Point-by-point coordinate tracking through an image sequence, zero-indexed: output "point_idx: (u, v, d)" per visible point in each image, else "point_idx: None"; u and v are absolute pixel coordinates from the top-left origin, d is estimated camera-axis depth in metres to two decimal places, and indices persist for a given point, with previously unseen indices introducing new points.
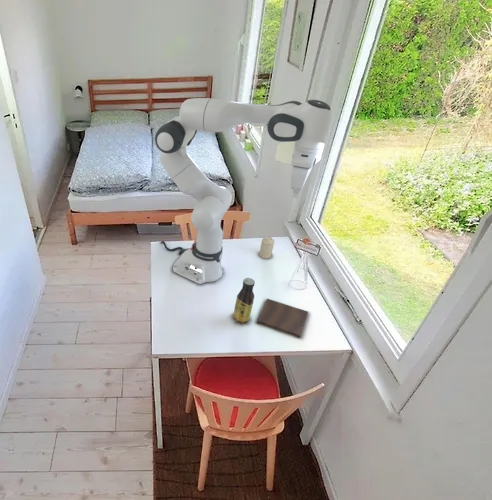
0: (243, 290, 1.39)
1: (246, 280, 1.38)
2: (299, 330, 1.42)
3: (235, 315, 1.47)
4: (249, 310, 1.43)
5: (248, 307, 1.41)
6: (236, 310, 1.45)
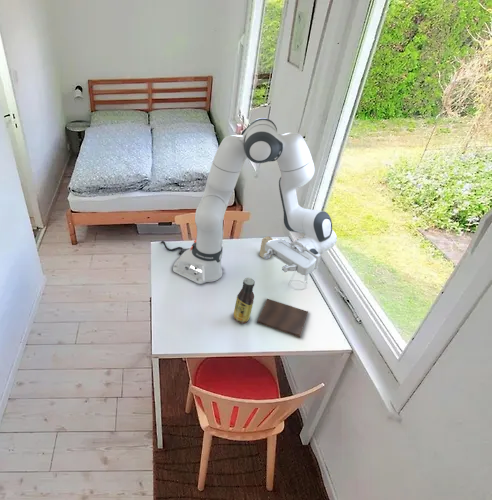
0: (243, 290, 1.39)
1: (246, 280, 1.38)
2: (299, 330, 1.42)
3: (235, 315, 1.47)
4: (249, 310, 1.43)
5: (248, 307, 1.41)
6: (236, 310, 1.45)
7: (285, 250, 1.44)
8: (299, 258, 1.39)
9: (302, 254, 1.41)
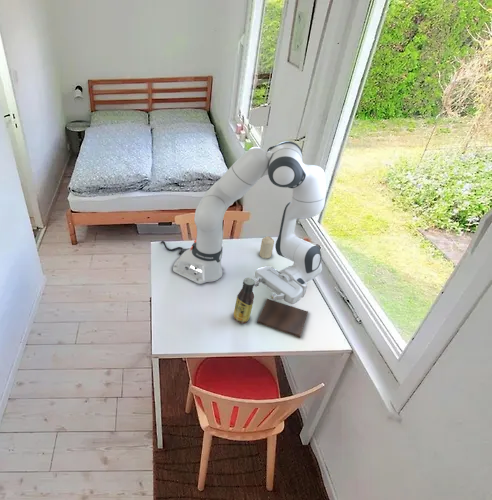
0: (243, 290, 1.39)
1: (246, 280, 1.38)
2: (299, 330, 1.42)
3: (235, 315, 1.47)
4: (249, 310, 1.43)
5: (248, 307, 1.41)
6: (236, 310, 1.45)
7: (273, 278, 1.50)
8: (287, 287, 1.46)
9: (290, 283, 1.48)
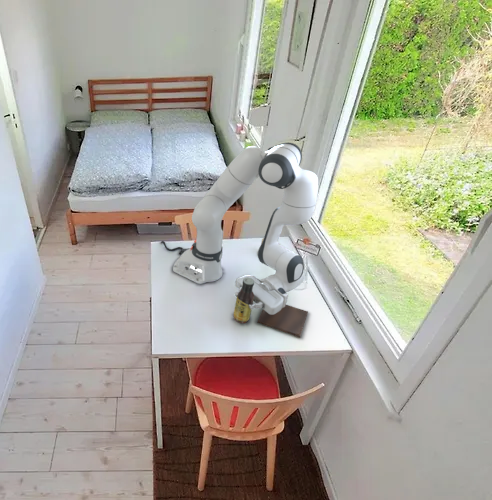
0: (243, 290, 1.39)
1: (246, 279, 1.38)
2: (299, 330, 1.42)
3: (235, 315, 1.47)
4: (249, 310, 1.43)
5: (248, 307, 1.42)
6: (236, 310, 1.45)
7: (254, 288, 1.46)
8: (267, 297, 1.42)
9: (270, 293, 1.44)
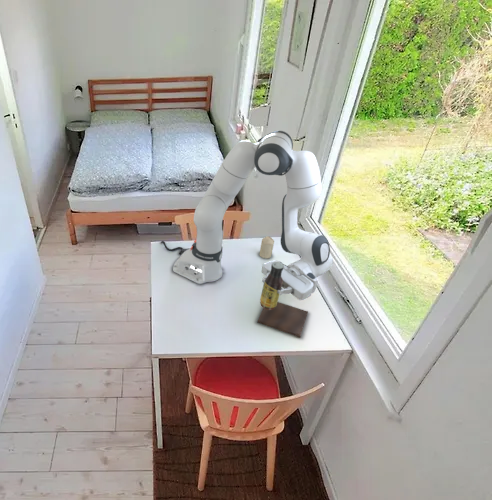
0: (271, 274, 1.35)
1: (274, 264, 1.34)
2: (299, 330, 1.42)
3: (262, 301, 1.43)
4: (277, 295, 1.39)
5: (276, 292, 1.37)
6: (263, 296, 1.41)
7: (282, 273, 1.42)
8: (296, 282, 1.37)
9: (299, 278, 1.39)
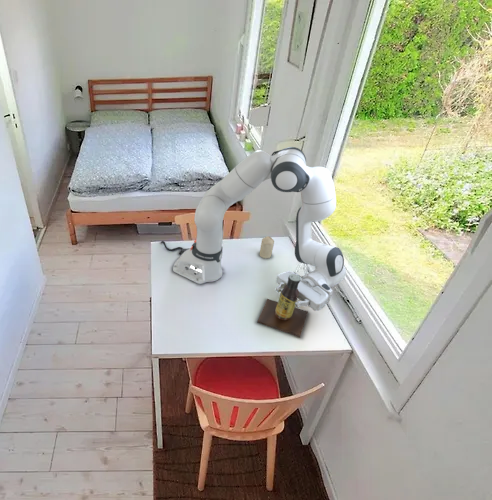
0: (288, 286, 1.38)
1: (291, 276, 1.37)
2: (299, 330, 1.42)
3: (278, 312, 1.46)
4: (293, 307, 1.42)
5: (292, 303, 1.41)
6: (279, 307, 1.44)
7: None
8: (311, 293, 1.41)
9: (314, 289, 1.42)
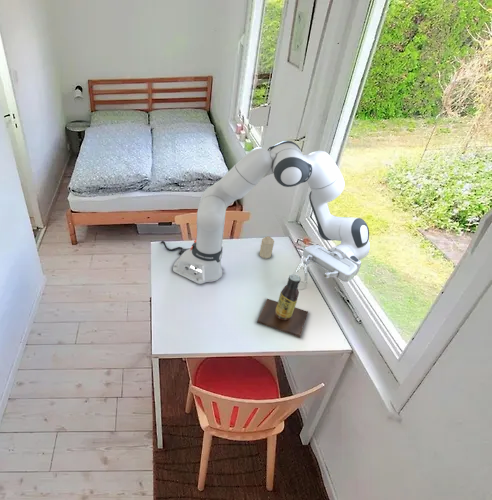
0: (288, 286, 1.38)
1: (291, 276, 1.37)
2: (299, 330, 1.42)
3: (278, 312, 1.46)
4: (293, 307, 1.42)
5: (292, 304, 1.41)
6: (279, 307, 1.44)
7: (325, 256, 1.46)
8: (340, 265, 1.41)
9: (342, 261, 1.43)
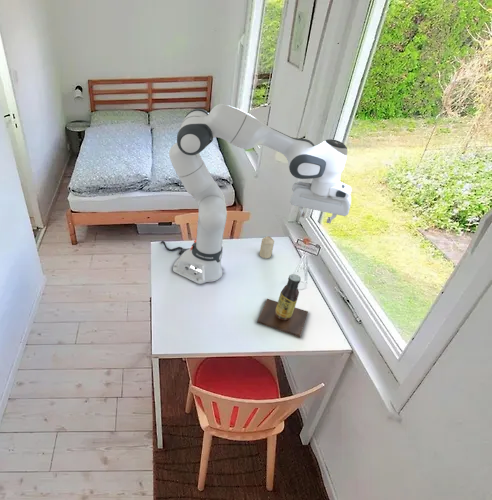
0: (288, 286, 1.38)
1: (291, 276, 1.37)
2: (299, 330, 1.42)
3: (278, 312, 1.46)
4: (293, 307, 1.42)
5: (292, 304, 1.41)
6: (279, 307, 1.44)
7: (313, 203, 1.39)
8: (333, 206, 1.36)
9: (331, 199, 1.35)
